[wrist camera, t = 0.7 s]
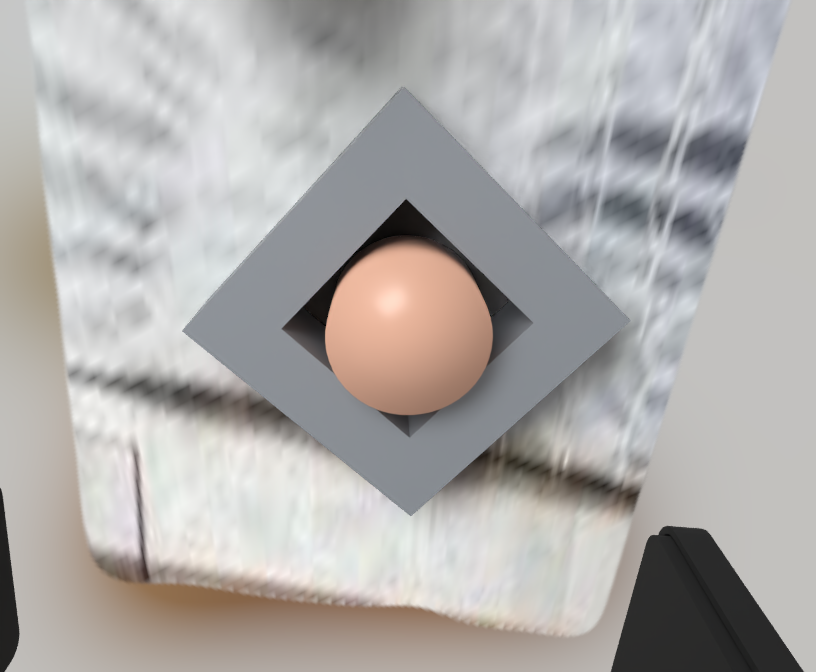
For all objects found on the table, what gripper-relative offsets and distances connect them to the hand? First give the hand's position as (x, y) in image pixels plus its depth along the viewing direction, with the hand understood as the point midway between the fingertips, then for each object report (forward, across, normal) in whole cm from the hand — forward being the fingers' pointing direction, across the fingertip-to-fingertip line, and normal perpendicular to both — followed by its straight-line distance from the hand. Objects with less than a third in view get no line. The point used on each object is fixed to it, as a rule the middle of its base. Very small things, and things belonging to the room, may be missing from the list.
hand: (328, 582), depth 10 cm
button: (+28, -2, +5) cm, 28 cm away
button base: (+30, -2, +5) cm, 30 cm away
